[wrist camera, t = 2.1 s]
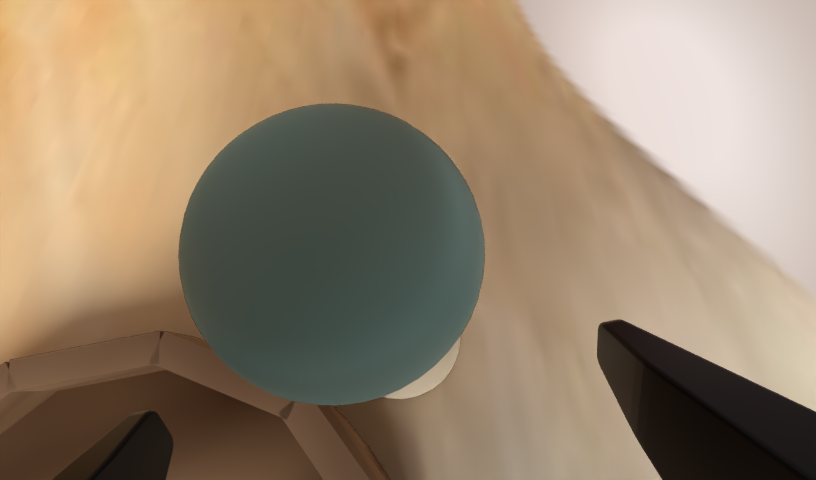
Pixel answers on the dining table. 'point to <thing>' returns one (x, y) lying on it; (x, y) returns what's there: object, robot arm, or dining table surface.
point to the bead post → (333, 256)
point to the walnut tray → (169, 414)
